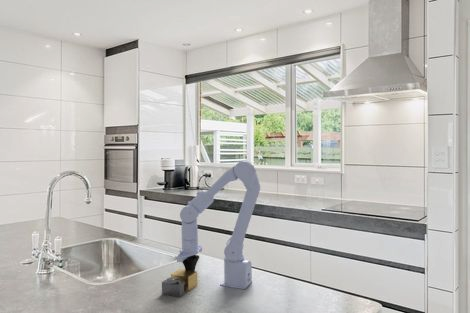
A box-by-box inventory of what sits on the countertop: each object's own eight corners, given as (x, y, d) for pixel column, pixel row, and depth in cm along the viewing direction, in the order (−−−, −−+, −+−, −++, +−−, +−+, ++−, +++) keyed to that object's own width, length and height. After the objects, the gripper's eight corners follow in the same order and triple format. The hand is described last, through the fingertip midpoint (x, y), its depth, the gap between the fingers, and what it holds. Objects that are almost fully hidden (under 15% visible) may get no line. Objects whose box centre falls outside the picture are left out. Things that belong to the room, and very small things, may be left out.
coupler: (193, 287, 127) (192, 273, 127) (178, 298, 118) (178, 282, 118) (175, 285, 129) (175, 271, 129) (160, 294, 121) (160, 279, 121)
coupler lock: (197, 284, 129) (197, 271, 129) (188, 291, 124) (188, 277, 124) (180, 282, 132) (180, 269, 132) (171, 288, 127) (170, 274, 127)
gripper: (190, 233, 140) (190, 268, 140) (168, 242, 126) (169, 281, 127) (206, 234, 137) (207, 271, 137) (186, 244, 124) (187, 284, 124)
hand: (190, 276), depth 132 cm, fingers closed
